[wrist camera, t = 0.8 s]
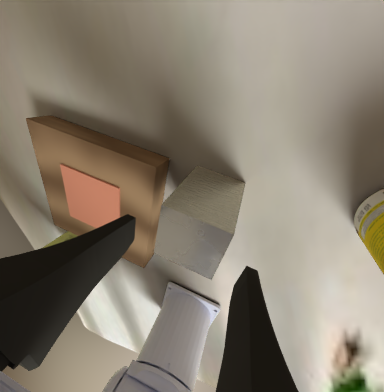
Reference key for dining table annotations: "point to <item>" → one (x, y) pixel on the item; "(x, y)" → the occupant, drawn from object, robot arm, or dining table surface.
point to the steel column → (199, 221)
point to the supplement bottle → (372, 226)
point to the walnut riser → (99, 181)
